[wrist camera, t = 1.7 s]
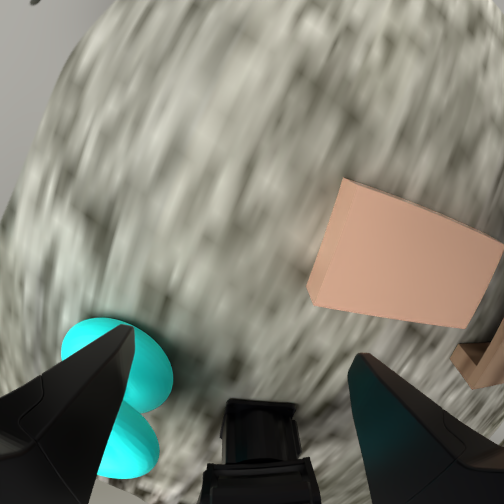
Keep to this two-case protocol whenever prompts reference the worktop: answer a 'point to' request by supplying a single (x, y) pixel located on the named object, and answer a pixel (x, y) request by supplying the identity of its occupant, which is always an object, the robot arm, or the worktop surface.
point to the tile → (400, 260)
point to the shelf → (481, 361)
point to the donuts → (129, 399)
